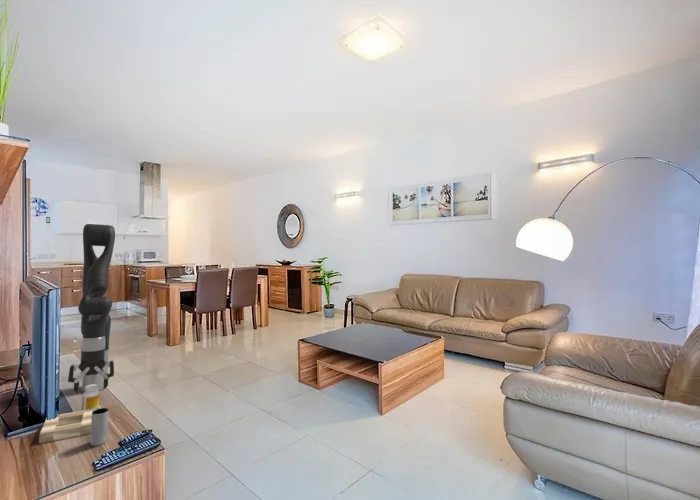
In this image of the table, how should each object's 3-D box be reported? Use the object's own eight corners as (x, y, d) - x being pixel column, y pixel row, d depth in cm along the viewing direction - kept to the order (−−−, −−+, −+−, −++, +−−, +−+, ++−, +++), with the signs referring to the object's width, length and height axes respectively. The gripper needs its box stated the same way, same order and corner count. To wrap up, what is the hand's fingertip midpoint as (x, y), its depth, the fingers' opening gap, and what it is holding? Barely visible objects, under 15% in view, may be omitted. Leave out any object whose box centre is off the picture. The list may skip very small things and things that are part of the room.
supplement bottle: (102, 408, 138) (103, 384, 138) (90, 414, 132) (92, 389, 133) (89, 407, 138) (90, 383, 138) (77, 413, 133) (79, 388, 133)
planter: (108, 437, 117) (110, 407, 117) (104, 444, 113) (106, 413, 113) (92, 439, 115) (94, 408, 116) (88, 447, 111) (89, 414, 111)
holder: (46, 424, 124) (47, 416, 124) (95, 416, 131) (95, 408, 131) (39, 443, 112) (39, 434, 112) (92, 432, 120) (93, 424, 120)
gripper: (115, 344, 143) (113, 384, 142) (71, 348, 135) (68, 390, 134) (115, 348, 136) (113, 390, 136) (68, 352, 129) (66, 396, 128)
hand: (91, 390), depth 135 cm, fingers open, 8 cm apart
